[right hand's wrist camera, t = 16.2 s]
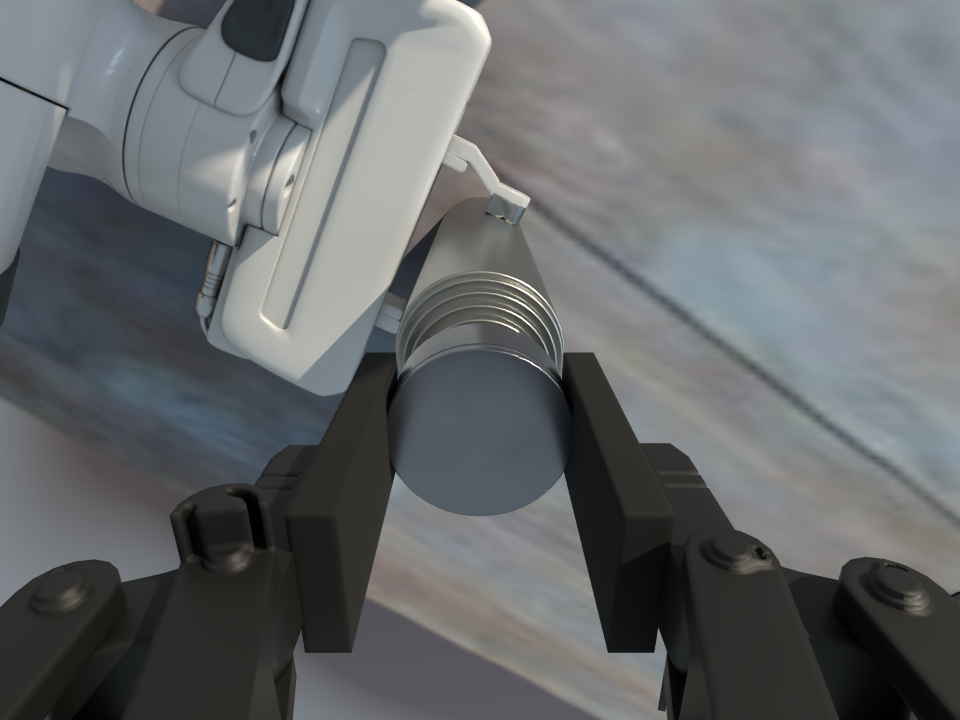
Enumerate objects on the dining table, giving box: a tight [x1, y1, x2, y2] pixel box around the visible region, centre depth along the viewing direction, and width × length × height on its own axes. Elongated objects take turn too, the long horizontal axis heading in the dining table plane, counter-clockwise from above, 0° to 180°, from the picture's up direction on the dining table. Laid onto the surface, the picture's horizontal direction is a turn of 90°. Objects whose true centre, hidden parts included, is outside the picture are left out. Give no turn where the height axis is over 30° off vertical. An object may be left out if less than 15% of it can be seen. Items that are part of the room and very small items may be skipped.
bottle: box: [395, 198, 565, 375], centre depth 25 cm, size 5×5×24 cm
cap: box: [387, 323, 573, 516], centre depth 14 cm, size 4×4×2 cm
